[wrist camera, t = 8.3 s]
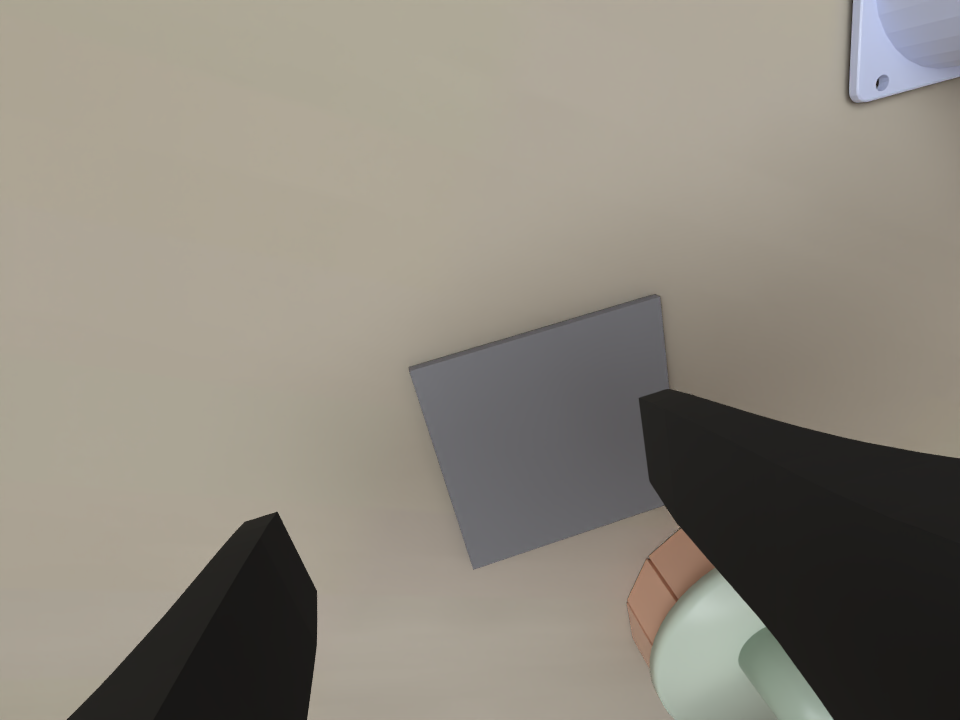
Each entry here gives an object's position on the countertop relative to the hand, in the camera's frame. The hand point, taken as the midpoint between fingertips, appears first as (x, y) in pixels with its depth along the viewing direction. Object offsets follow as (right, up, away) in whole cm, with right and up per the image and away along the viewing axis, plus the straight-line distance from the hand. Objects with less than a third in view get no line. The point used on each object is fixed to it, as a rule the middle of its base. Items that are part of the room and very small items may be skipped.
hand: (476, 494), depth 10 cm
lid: (+13, -10, +14) cm, 22 cm away
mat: (+3, -1, +12) cm, 12 cm away
